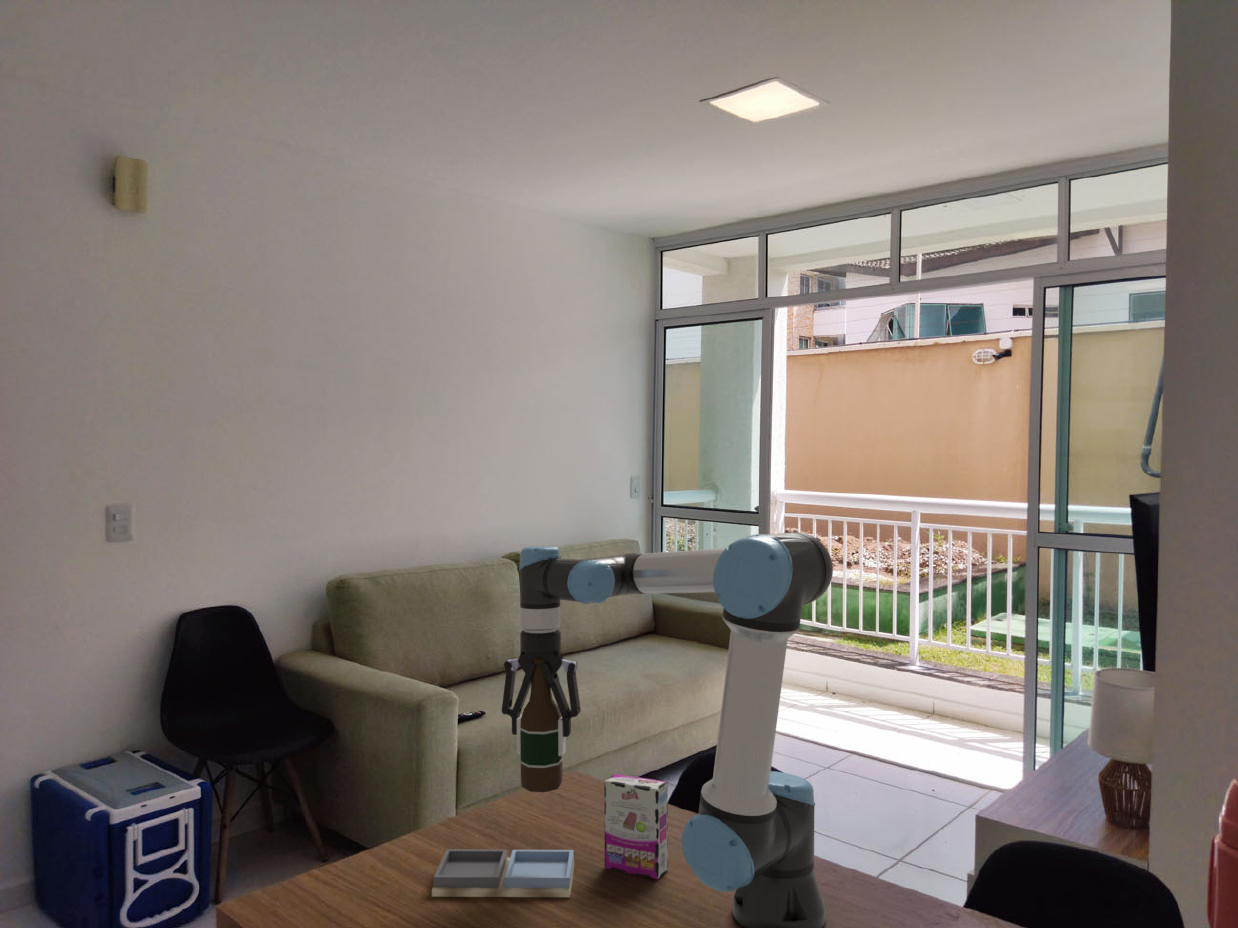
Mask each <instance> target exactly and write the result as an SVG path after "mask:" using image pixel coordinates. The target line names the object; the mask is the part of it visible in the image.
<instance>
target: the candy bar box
mask: <svg viewBox="0 0 1238 928" xmlns="http://www.w3.org/2000/svg"><path fill="white" fill-rule="evenodd" d="M603 785H604V787H603V788H604V790H603V791H604V868H605V869H607V870H611V871H616V872H621V873H625V874H629V875H635V876H638V877H639V876H640V877H644V878H649V879H654V880H659V879H660V878H661V877H662V876H663V875H664V874H666V872H667V871H668V869H669V856H668V855H669V854H668V853H669V851H668V849H669V846H668V845H669V841H668V840H669V839H668V837H669V835H668V834H669V833H668V832H669V831H668V830H669V829H668V826H669V825H668V824H669V823H668V818H669V816H668V805H669V803H668V798H669V797H668V781H664V780H658V779H652V778H646V777H645V778H644V777H639V776H631V775H624V774H618V773H614V774H613V775H611V776H610V777H609V778H607V779H605V780H604V784H603Z"/></svg>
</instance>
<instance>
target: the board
mask: <svg viewBox="0 0 1238 928" xmlns="http://www.w3.org/2000/svg"><path fill="white" fill-rule="evenodd" d="M510 857H511V856H510ZM510 857H509V856H507V862H506V865H505V869H504V872H503V875H502V878H501V882H500V885H499V888H433V887H432V889H431V897H432V898H433V897H435V898H436V897H439V898H442V897H444V898H446V897H447V898H450V897H451V898H455V897H456V898H463V897H465V898H571V893H572V892H571V891H572V885H573V877H574V870H575V869H574V868H575V859H574V860H573V867H572V875H571V882H570V888H504V877H505V874H506V870H507V867H508V864H509V860H510Z"/></svg>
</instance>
